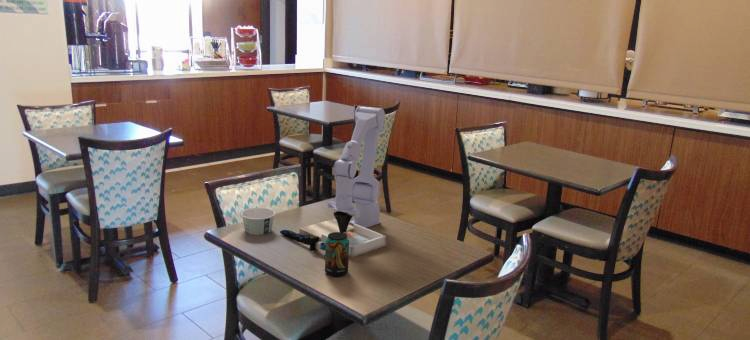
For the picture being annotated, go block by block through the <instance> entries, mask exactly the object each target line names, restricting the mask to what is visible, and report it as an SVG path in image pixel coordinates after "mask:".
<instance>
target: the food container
mask: <svg viewBox="0 0 750 340" xmlns="http://www.w3.org/2000/svg"><path fill="white" fill-rule="evenodd" d="M275 215H276V212H275V210H273V209H271V208H269V207H268V208H267V207H251V208H248V209H245V210H244V209H243V210H242V211H241V213H240V216H241V217H242V222H243V227H244V231H245V233H246V232H247V234H248V233H249V235H252V234H253V235H252V236H254V235H255V236H261V235H262V236H263V235H267V234H270V233H271V232H272V231H273V230H272V228H273V224H274V223H273V222H274V218H275Z"/></svg>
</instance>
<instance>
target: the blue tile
mask: <svg viewBox="0 0 750 340" xmlns="http://www.w3.org/2000/svg"><path fill="white" fill-rule="evenodd" d="M365 241H367V239H366V238H364V237H361V236H359V235H357V236H354V237H351V238H349V244H350V245H352V246H354V245H357V244H359V243H362V242H365Z"/></svg>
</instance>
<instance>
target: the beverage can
mask: <svg viewBox="0 0 750 340" xmlns="http://www.w3.org/2000/svg"><path fill="white" fill-rule="evenodd" d="M324 251H325V252H324V253H325V255H324V272H325V273H326V274H327V275H328V276H330V277H334V278H336V277H337V278H340V277H343V276H345V275H346V274H347V273H348V272H349V262H350V261H349V258H350V257H349V240H348V238H347V235H346V234H345V233H341V232H333V233H330V234H328V238H327V239H326V247H325V250H324Z"/></svg>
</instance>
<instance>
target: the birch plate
mask: <svg viewBox="0 0 750 340" xmlns="http://www.w3.org/2000/svg"><path fill="white" fill-rule="evenodd" d="M353 230H354V226H352V225H350V224H349V225H348V228H347V231H346V232H349V231H350V232H353ZM333 232H340V231H339V227H338V223H337V220H336V218H332V219H329V220H325V221H321V222H318V223H314V224H310V225H307V226H303V227H301V228H299V230H298V234H301V235H310V238H311V239H312V238H314V237H317V236H318V237H319V242H321V237H322V234H326V235H328V234H330V233H333ZM346 232H344V233H346Z"/></svg>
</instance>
